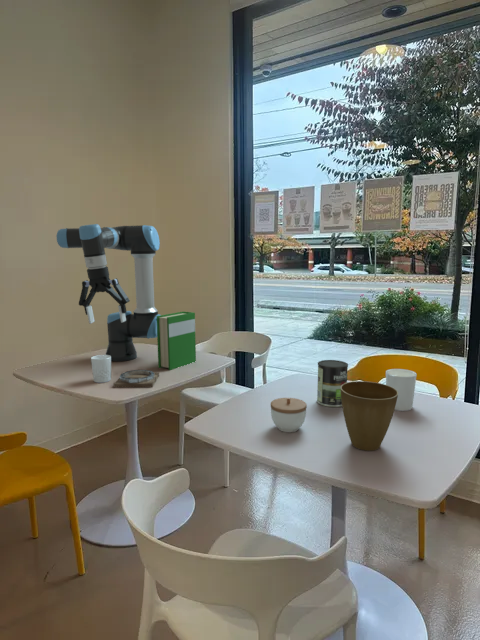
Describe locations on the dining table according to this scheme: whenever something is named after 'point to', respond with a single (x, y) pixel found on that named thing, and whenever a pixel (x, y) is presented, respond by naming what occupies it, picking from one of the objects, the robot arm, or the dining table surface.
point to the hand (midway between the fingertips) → (107, 322)
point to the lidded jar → (288, 413)
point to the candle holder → (402, 387)
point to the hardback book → (176, 339)
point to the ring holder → (137, 379)
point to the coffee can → (331, 382)
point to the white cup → (101, 368)
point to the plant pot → (367, 412)
